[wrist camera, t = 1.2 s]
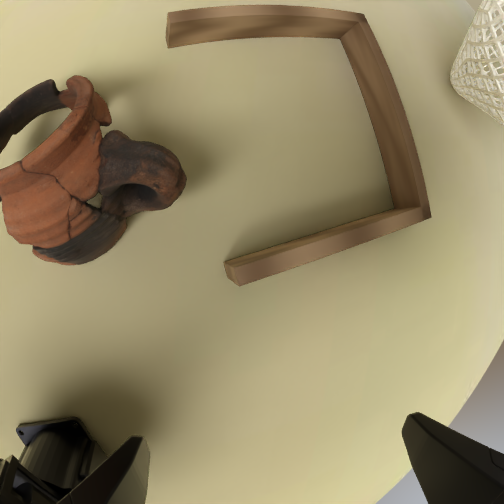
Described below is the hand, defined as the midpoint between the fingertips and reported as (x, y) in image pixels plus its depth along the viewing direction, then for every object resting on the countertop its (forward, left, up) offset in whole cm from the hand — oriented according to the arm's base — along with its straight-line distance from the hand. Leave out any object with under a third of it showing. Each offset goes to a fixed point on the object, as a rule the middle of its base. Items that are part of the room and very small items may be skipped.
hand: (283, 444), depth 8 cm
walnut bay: (+9, +12, -11) cm, 19 cm away
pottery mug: (-5, +12, -11) cm, 17 cm away
